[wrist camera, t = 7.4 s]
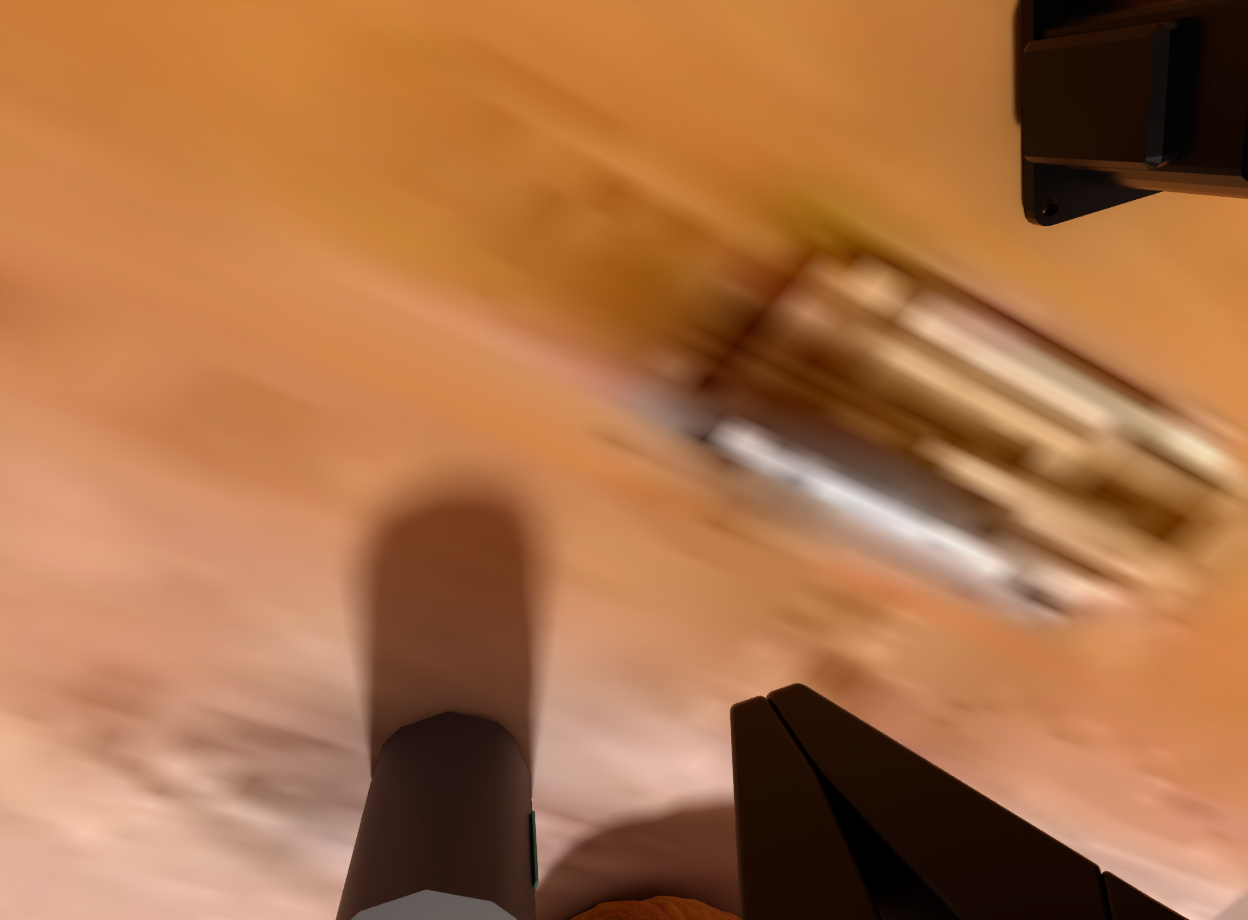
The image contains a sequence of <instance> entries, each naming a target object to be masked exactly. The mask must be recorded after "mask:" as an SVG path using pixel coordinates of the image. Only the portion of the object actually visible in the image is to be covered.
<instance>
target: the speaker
mask: <svg viewBox="0 0 1248 920" xmlns="http://www.w3.org/2000/svg"><path fill="white" fill-rule="evenodd" d="M537 885H538V863H537V845H536V827H535V811H533V810H532V801H531V784H530V774H529V771H528V769H527V766H526V764H525V761H524V759H523V756H522V754H521V751H520V749H519V746H518V744H517V741H516V739H515V737H514V736H513V735H511V734H510V733H509V732H508V731H506V730H505V729H504V728H503V727H501V726H500V725H499V724H498V723H495V722H490V721H486V720H482V719H477V718H473V717H469V716H464V715H460V714H456V713H451V712H447V713H444V714H441V715H438V716H435V717H432V718H429V719H425V720H422V721H419V722H416V723H413V724H410V725H407V726H404V727H401V728H400V729H399V730H398V731H397V732H395V733H394V734H393V735H392V736H391V737H390V738H389V739H388V740H387V741H386V742H385V743H384V744H383V747H382V750H381V753H380V756H379V759H378V762H377V765H376V768H375V772H374V775H373V778H372V781H371V784H370V788H369V792H368V796H367V800H366V803H365V807H364V811H363V815H362V819H361V823H360V827H359V831H358V835H357V839H356V843H355V846H354V850H353V854H352V858H351V862H350V866H349V870H348V874H347V878H346V882H345V885H344V889H343V893H342V897H341V901H340V905H339V909H338V913H337V917H336V920H536V916H535V891H536V888H537Z"/></svg>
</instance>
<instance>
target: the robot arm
mask: <svg viewBox="0 0 1248 920" xmlns="http://www.w3.org/2000/svg"><path fill="white" fill-rule="evenodd" d="M1022 136H1023V169H1024V214H1025V218H1026V219H1027V220H1028V222H1030V223H1032V224H1034V225H1040V226H1051V225H1055V224H1058V223H1061V222H1064V221H1068V220H1071V219H1074V218H1077V217H1081V216H1084V215H1087V214H1091V213H1094V212H1097V211H1100V210H1104V209H1107V208H1110V207H1113V206H1117V205H1120V204H1123V203H1127V202H1130V201H1133V200H1136V199H1140V198H1143V197H1146V196H1149V195H1153V194H1156V193H1159V192H1163V191H1168V192H1179V193H1190V194H1201V195H1212V196H1222V197H1233V198H1244V199H1248V0H1022ZM1047 199H1048V201H1049V205H1048V209H1047V210H1046V211H1045V213H1043V211H1042V208H1043V204H1044V203H1045V201H1046V200H1047ZM730 723H731V744H732V765H733V785H734V806H735V827H736V848H737V868H738V889H739V910H740V920H1189V919H1187V918H1185V917H1184V916H1182V915H1180V914H1178V913H1177V912H1175V911H1173V910H1172V909H1170V908H1168V907H1167V906H1165V905H1163V904H1161V903H1160V902H1158V901H1156V900H1155V899H1153V898H1151V897H1150V896H1148V895H1146V894H1145V893H1143V892H1141V891H1140V890H1138V889H1136V888H1135V887H1133V886H1132V885H1130V884H1128V883H1127V882H1125V881H1123V880H1122V879H1120V878H1119V877H1117V876H1115V875H1114V874H1112V873H1111V872H1108V871H1104V872H1103V873H1102V875H1101V870H1100V868H1099V866H1098V865H1097V864H1095V863H1094V862H1092V861H1090V860H1089V859H1087V858H1085V857H1084V856H1082V855H1081V854H1079V853H1077V852H1076V851H1074V850H1072V849H1071V848H1069V847H1068V846H1066V845H1064V844H1063V843H1061V842H1059V841H1058V840H1056V839H1055V838H1053V837H1051V836H1050V835H1048V834H1046V833H1045V832H1043V831H1042V830H1040V829H1038V828H1037V827H1035V826H1033V825H1032V824H1030V823H1029V822H1027V821H1025V820H1024V819H1022V818H1020V817H1019V816H1017V815H1015V814H1014V813H1012V812H1011V811H1009V810H1007V809H1006V808H1004V807H1002V806H1001V805H999V804H998V803H996V802H994V801H993V800H991V799H989V798H988V797H986V796H985V795H983V794H981V793H980V792H978V791H976V790H975V789H973V788H972V787H970V786H968V785H967V784H965V783H963V782H962V781H960V780H959V779H957V778H955V777H954V776H952V775H950V774H949V773H947V772H945V771H944V770H942V769H941V768H939V767H937V766H936V765H934V764H932V763H931V762H929V761H928V760H926V759H924V758H923V757H921V756H919V755H918V754H916V753H915V752H913V751H911V750H910V749H908V748H906V747H905V746H903V745H902V744H900V743H898V742H897V741H895V740H893V739H892V738H890V737H889V736H887V735H885V734H884V733H882V732H880V731H879V730H877V729H875V728H874V727H872V726H871V725H869V724H867V723H866V722H864V721H862V720H861V719H859V718H858V717H856V716H854V715H853V714H851V713H849V712H848V711H846V710H845V709H843V708H841V707H840V706H838V705H836V704H835V703H833V702H832V701H830V700H828V699H827V698H825V697H823V696H822V695H820V694H819V693H817V692H815V691H814V690H812V689H810V688H809V687H807V686H805V685H803V684H800V683H795V684H792V685H789V686H786V687H783V688H780V689H777V690H774V691H771V692H770V693H769V694H768V695H767V696H766V698H765V697H763V696H757V697H754V698H751V699H748V700H745V701H742V702H739V703H736V704H734V705H732V707H731V709H730Z"/></svg>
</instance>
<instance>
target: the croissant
mask: <svg viewBox="0 0 1248 920" xmlns="http://www.w3.org/2000/svg"><path fill="white" fill-rule="evenodd" d="M570 920H740V917H738V916H736V915H734V914H732V913H730V912H723V911H720V910H719V909H718V908H712V907H711V906H709V905H707V904H705V903H703V902H701V901H698V900H695V899H686V898H678V897H675V896H656V897H653V898H651V899H645V900H643V901H614V902H606V903H600V904H598V905H597V906H595V907H594V908H593V909H591V910H588V911H586V912H583V913H581V914H579V915H576V916H574V917H573V918H571V919H570Z"/></svg>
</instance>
